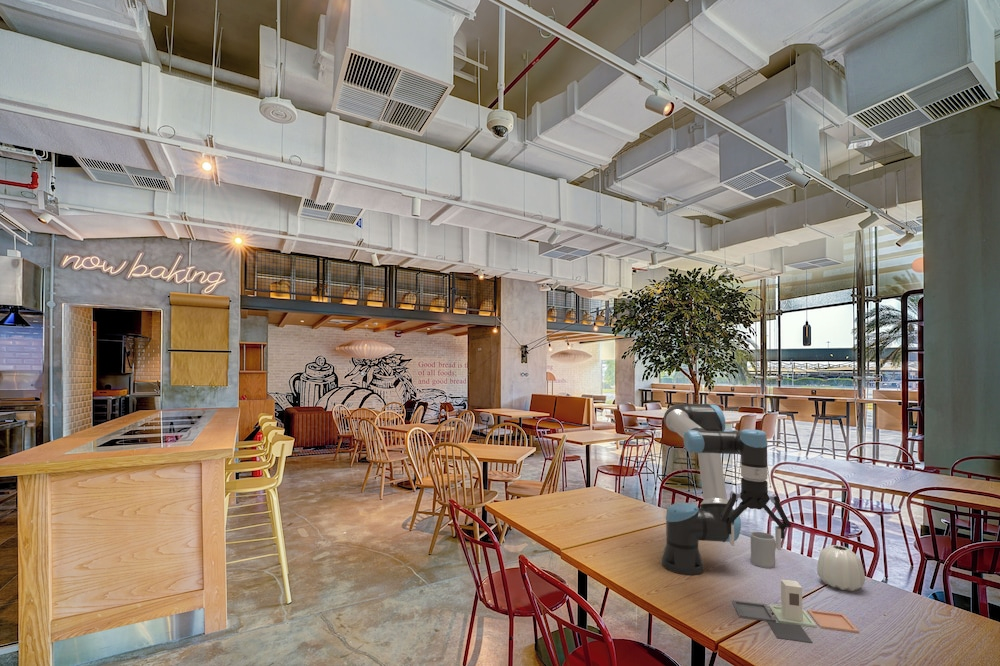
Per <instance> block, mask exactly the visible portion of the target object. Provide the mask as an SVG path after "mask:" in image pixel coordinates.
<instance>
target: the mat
mask: <svg viewBox="0 0 1000 666" xmlns="http://www.w3.org/2000/svg"><path fill="white" fill-rule="evenodd" d="M766 622H767V624H768V626H769V627H770V629H771V631H772V632H773V634H774V636H775V637H776V639H780V640H786V641H793V642H801V643H809V644H813V641H812V640H811V637H810V636H809V635H808V634H807V632H806V631H805V630H804V628H803V626H800V625H793V624H785V623H779V622H777V621H776V622H770V621H766Z"/></svg>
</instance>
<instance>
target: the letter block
mask: <svg viewBox="0 0 1000 666" xmlns="http://www.w3.org/2000/svg"><path fill="white" fill-rule="evenodd" d="M780 606H781V612H782V614H783V615H784V617H785V618H786V619H788V620H796V621H803V609H804V608H803V587H802V585H800V583H799V582H798V581H796V580H790V579H789V580H788V579H780Z"/></svg>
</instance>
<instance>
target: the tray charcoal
mask: <svg viewBox="0 0 1000 666" xmlns="http://www.w3.org/2000/svg"><path fill="white" fill-rule="evenodd" d="M731 603H732V605H733V607H734V609H735V611H736V613H737V615H738V616H739V618H740V619H747V620H753V621H754V620H755V621H763V622H767V621H770V622H777V619H776V617H775V616H774V614H773V612H772V611H771V609H770V608H769V606H767V604H765V603H759V602H751V601H742V600H736V599H735V600H734V599H732V600H731Z"/></svg>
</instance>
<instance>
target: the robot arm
mask: <svg viewBox="0 0 1000 666" xmlns="http://www.w3.org/2000/svg"><path fill="white" fill-rule="evenodd" d="M663 422H664V425H665V426H666V427H667V429H668V430H669V431H671V432H674V433H677V434H678V436H680V437H681V438H682V439H683V446H684V449H685V451H686V452H688V453H694V454H697V457H698V464H699V465H698V466H699V474H700V480H701V489H702V496H703V500H702V501H701V503H700V505H699V506H698V505H697V504H695V503H690V502H676V503H675V502H674V503H672V504H671V505H668V507H667V508H666V513H665V520H666V522H665V523H666V524H665V527H666V528H665V531H666V532H665V533H666V535H665V536H666V537H665V538H666V539H665V541H666V543H665V547H664V549H663V553H662V556H661V565H662V567H663V568H664V569H667V570H668V571H670V572H673V573H675V574H680V575H686V576H687V575H688V576H689V575H692V576H694V575H699V574H701V573H704V562H703V559H702V555H701V552H700V549H699V541H703V542H704V541H705V542H706V541H707V542H719V543H720V542H721V543H726V542H727V543H728V542H729V544H730V545H731V546H732V547H734V546H735V541H737V540H738V539H739V536H740V534H741V530H742V529H741V528H742V521H741V514H742V513H743V512H744V511H746V510H747V509H748V508H749V509H750V510H754V509H756V510H762V509H764V511H765V512H766V513H767V514H768V515H769V516H770V518H771V519H772V520H773V521H774V522H775V523H776V525H775V528H774V530H775V531H774V532H775V533H774V538H775V543H776V550H778V551H782V540H783V539H785V530H786V529H787V528H790V527H792V524H791V522H790V521H789V518H788V517H787V515H786V513H785V511H784V509H783V507H782V506H781V503H780V497H779V496H778V495H776V494H773V495H769V493H768V492H769V490H768V487H769V486H768V481H767V480H768V443H769V442H768V437H767V433H766V431H764V430H761V429H753V428H751V429H749V428H747V429H742V430H736V429H735V430H731V431H726V418H725V414H724V412H723V410H722V408H721V407H720V406H718V405H717V404H713V403H712V404H710V403H684V402H683V403H682V402H681V403H677V404H674V405H671V406H670V407H669V408H668V409H667V410H666V411H665V412H664V415H663ZM721 454H724V455H725V454H726V455H739V456H740V476H741V478H740V486H741V487H740V489H741V490H740V491H741V492H740V493H738V492H734V491H730V493H729V500H728V496H727V489H726V483H725V482H726V481H725V477H724V476H725V475H724V468H723V462H722V461H723V460H722V455H721ZM739 499H741V502H740V503H739V504H738V506H737V507H735V509H733V508H734V506H735V504H736V502H737V501H738V500H739ZM769 501H770V502H771V503H773V505H774V507H775V509H776V511H777V513H778V515H779V516H780V518H781V520H780V519H779V518H778V517H777V515H776V514H775V513H774V512H773V511H772V510H771V508H769V506H768V505H767V503H769ZM699 507H700V508H699Z"/></svg>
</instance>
